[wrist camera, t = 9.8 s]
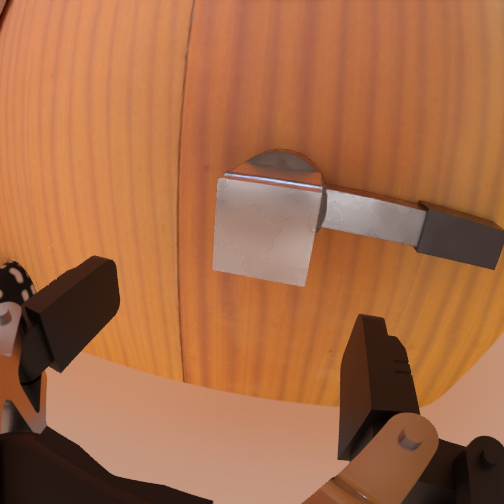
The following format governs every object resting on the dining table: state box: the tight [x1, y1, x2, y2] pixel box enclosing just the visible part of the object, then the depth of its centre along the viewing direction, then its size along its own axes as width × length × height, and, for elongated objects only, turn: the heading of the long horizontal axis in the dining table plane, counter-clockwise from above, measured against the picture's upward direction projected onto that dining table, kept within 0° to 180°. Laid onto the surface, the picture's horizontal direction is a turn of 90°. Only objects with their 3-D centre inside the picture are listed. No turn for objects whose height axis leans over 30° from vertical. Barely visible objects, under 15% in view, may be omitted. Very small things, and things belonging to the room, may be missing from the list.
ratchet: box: [244, 149, 504, 270], centre depth 20 cm, size 22×7×7 cm, turn 84°
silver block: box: [212, 162, 323, 287], centre depth 18 cm, size 5×5×6 cm
